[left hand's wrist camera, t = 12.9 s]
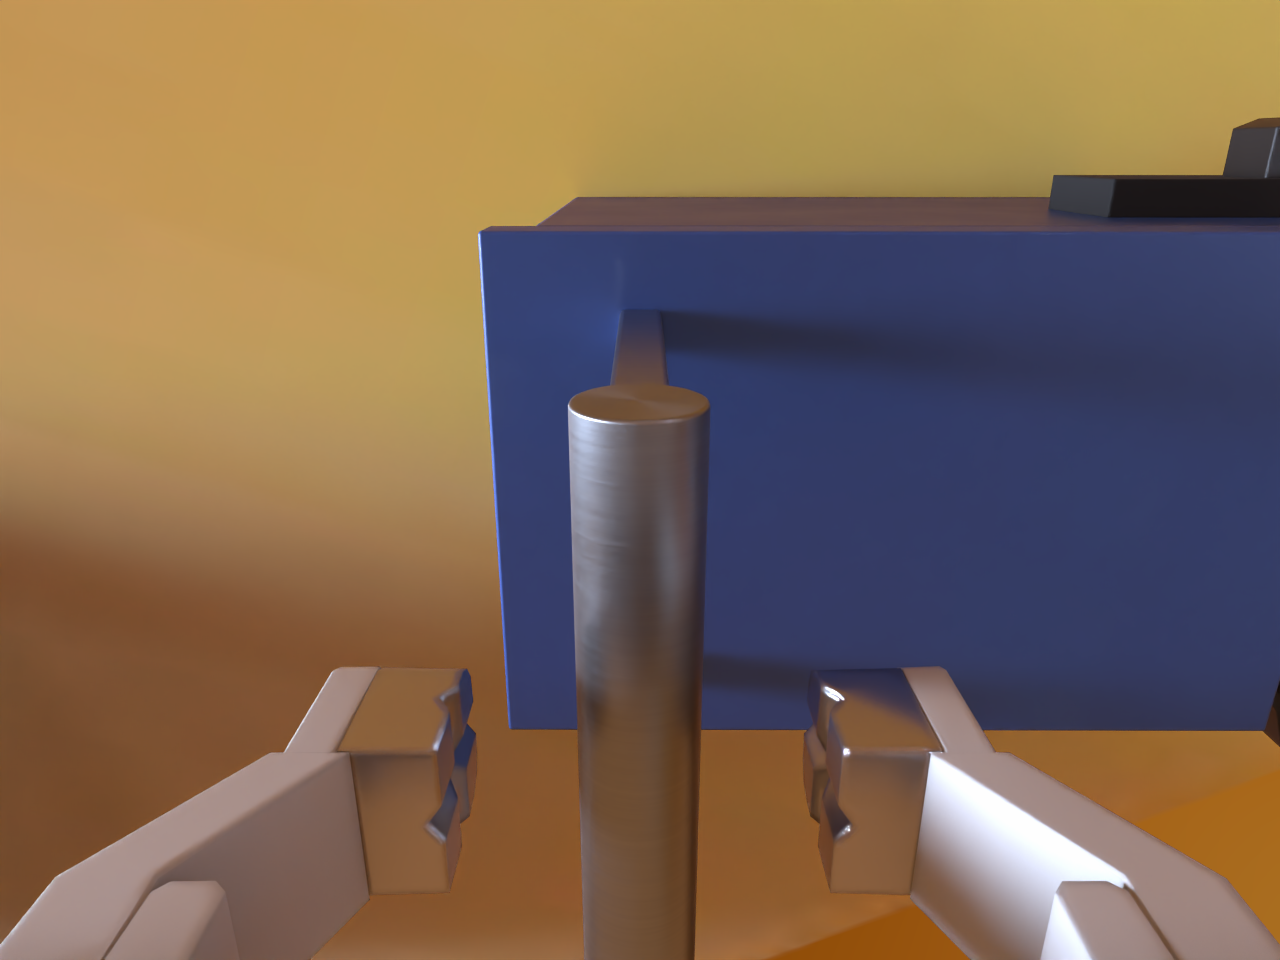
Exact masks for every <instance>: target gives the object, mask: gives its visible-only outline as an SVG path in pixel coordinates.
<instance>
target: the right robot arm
mask: <svg viewBox="0 0 1280 960" xmlns="http://www.w3.org/2000/svg"><path fill="white" fill-rule="evenodd" d="M1049 209H1051V210H1058V211H1065V212H1072V213H1079V214H1086V215H1093V216H1100V217H1107V218H1280V118H1262V119H1257V120H1254V121H1252V122H1249V123H1247V124H1244V125H1241V126H1239V127H1236V128H1234V129H1233V132H1232V136H1231V141H1230V145H1229V150H1228V154H1227V159H1226V163H1225V168H1224V172H1223V175H1054V177H1053V183H1052V190H1051V196H1050V202H1049ZM1263 732H1264V733H1265V734H1267V735H1268V736H1269V737H1270V738H1271V739H1272V740H1273V741H1274V742H1275V743H1276V744H1277V745H1278V746H1279V747H1280V682H1279V685H1278V688H1277V692H1276V695H1275V698H1274V702H1273V705H1272V708H1271V712H1270V715H1269V718H1268V722H1267V725H1266V728H1265V730H1263Z"/></svg>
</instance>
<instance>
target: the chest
mask: <svg viewBox="0 0 1280 960" xmlns="http://www.w3.org/2000/svg"><path fill="white" fill-rule="evenodd" d="M1049 202H1050V197H577V198H575V199H574V200H572V201H571V202H569V203H568V204H567V205H565V206H564V207H562V208H561V209H559V210H558V211H557V212H555V213H554V214H552V215H551V216H550V217H548V218H547V219H545V220H544V221H543V222H541V223H540V224H538V225H537V226H1238V227H1280V218H1107V217H1100V216H1093V215H1086V214H1079V213H1072V212H1065V211H1058V210H1051V209H1049Z"/></svg>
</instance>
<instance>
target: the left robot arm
mask: <svg viewBox="0 0 1280 960" xmlns="http://www.w3.org/2000/svg"><path fill="white" fill-rule="evenodd" d="M472 703H473V695H472V685H471V676H470V674H469V672H468V670H467V669H454V668H404V667H383V668H380V667H340V668H337V669H335V670H334V671H333V672H332V673H331V674H330V676H329V678H328V679H327V681H326V683H325V684H324V686H323V688H322V689H321V691H320V693H319V694H318V696H317V698H316V699H315V701H314V703H313V704H312V706H311V708H310V709H309V711H308V713H307V714H306V716H305V718H304V719H303V721H302V723H301V724H300V726H299V728H298V729H297V731H296V733H295V734H294V736H293V738H292V739H291V741H290V743H289V745H288V746H287V748H286V750H285V751H284V752H270V753H269V754H267V755H265V756H264V757H262V758H260V759H258V760H257V761H255V762H253V763H251V764H250V765H248V766H246V767H244V768H243V769H241V770H239V771H238V772H236V773H234V774H232V775H231V776H229V777H227V778H225V779H224V780H222V781H220V782H219V783H217V784H215V785H213V786H212V787H210V788H208V789H206V790H205V791H203V792H201V793H200V794H198V795H196V796H194V797H193V798H191V799H189V800H187V801H186V802H184V803H182V804H181V805H179V806H177V807H175V808H174V809H172V810H170V811H168V812H167V813H165V814H163V815H162V816H160V817H158V818H156V819H155V820H153V821H151V822H149V823H148V824H146V825H144V826H142V827H141V828H139V829H137V830H136V831H134V832H132V833H130V834H129V835H127V836H125V837H123V838H122V839H120V840H118V841H117V842H115V843H113V844H111V845H110V846H108V847H106V848H104V849H103V850H101V851H99V852H98V853H96V854H94V855H92V856H91V857H89V858H87V859H85V860H84V861H82V862H80V863H79V864H77V865H75V866H73V867H72V868H70V869H68V870H66V871H65V872H63V873H61V874H60V875H58V876H56V877H55V878H54V879H53V880H52V882H51V883H50V884H49V885H48V886H47V888H46V889H45V890H44V891H43V893H42V894H41V895H40V896H39V898H38V899H37V900H36V901H35V902H34V904H33V905H32V906H31V907H30V909H29V910H28V911H27V912H26V914H25V915H24V916H23V917H22V919H21V920H20V921H19V922H18V923H17V925H16V926H15V927H14V928H13V930H12V931H11V932H10V933H9V935H8V936H7V937H6V938H5V939H4V941H3V942H2V943H1V944H0V960H310V959H311V958H312V957H313V956H314V955H315V954H316V953H317V952H318V951H319V950H320V949H321V948H322V947H323V946H324V945H325V944H326V943H327V942H328V941H329V940H330V939H331V938H332V937H333V936H334V935H335V934H336V933H337V932H338V931H339V930H340V929H341V928H342V927H343V926H344V925H345V924H346V923H347V922H348V921H349V920H350V919H351V918H352V917H353V916H354V915H355V914H356V913H357V912H358V911H359V910H360V909H361V908H362V907H363V906H364V905H365V904H366V903H367V902H368V901H369V900H370V899H369V895H387V894H422V893H450V889H451V885H452V881H453V878H454V874H455V870H456V866H457V863H458V859H459V855H460V851H461V847H462V841H461V828H460V824H461V823H462V822H463V821H464V820H465V819H467V818H468V817H469V816H470V812H471V808H472V803H473V799H474V793H475V784H476V775H477V745H476V733H475V732H474V731H473V730H472V729H471V728H470V726H469V725H468V724H467V721H468V717H469V714H470V710H471V707H472ZM807 704H808V707H809V711H810V714H811V717H812V721H813V724H812V725H811V726H810V727H809V729H808V730H807V731H806V732H805V733H804V746H803V775H804V787H805V793H806V800H807V804H808V808H809V812H810V816H811V817H812V818H813V819H814V820H816V821H817V822H818V823H819V824H820V827H819V839H818V848H819V852H820V855H821V859H822V863H823V867H824V870H825V874H826V878H827V881H828V885H829V889H830V893H856V894H892V895H910V899H911V900H912V901H913V902H914V903H915V904H916V905H917V906H918V907H919V908H920V909H921V910H922V911H923V912H924V913H925V914H926V915H927V916H928V917H929V918H930V919H931V920H932V921H933V922H934V923H935V924H936V925H937V926H938V927H939V928H940V929H941V930H942V931H943V932H944V933H945V934H946V935H947V936H948V937H949V938H950V939H951V940H952V941H953V943H954V944H955V945H956V946H957V947H958V948H959V949H960V950H961V951H962V952H963V953H964V954H965V955H966V956H967V957H968V958H969V959H970V960H1280V944H1279V943H1278V942H1277V941H1276V939H1275V938H1274V937H1273V936H1272V935H1271V933H1270V932H1269V931H1268V930H1267V928H1266V927H1265V926H1264V925H1263V923H1262V922H1261V921H1260V920H1259V918H1258V917H1257V916H1256V915H1255V913H1254V912H1253V911H1252V910H1251V908H1250V907H1249V906H1248V905H1247V903H1246V902H1245V901H1244V900H1243V899H1242V897H1241V896H1240V895H1239V894H1238V892H1237V891H1236V890H1235V888H1234V887H1233V886H1232V885H1231V884H1230V882H1229V881H1228V880H1227V879H1226V878H1225V877H1223V876H1221V875H1220V874H1218V873H1216V872H1214V871H1213V870H1211V869H1209V868H1208V867H1206V866H1204V865H1202V864H1201V863H1199V862H1197V861H1195V860H1194V859H1192V858H1190V857H1189V856H1187V855H1185V854H1183V853H1182V852H1180V851H1178V850H1177V849H1175V848H1173V847H1171V846H1170V845H1168V844H1166V843H1164V842H1163V841H1161V840H1159V839H1158V838H1156V837H1154V836H1152V835H1151V834H1149V833H1147V832H1145V831H1144V830H1142V829H1140V828H1139V827H1137V826H1135V825H1133V824H1132V823H1130V822H1128V821H1127V820H1125V819H1123V818H1121V817H1120V816H1118V815H1116V814H1115V813H1113V812H1111V811H1109V810H1108V809H1106V808H1104V807H1102V806H1101V805H1099V804H1097V803H1096V802H1094V801H1092V800H1090V799H1089V798H1087V797H1085V796H1084V795H1082V794H1080V793H1078V792H1077V791H1075V790H1073V789H1071V788H1070V787H1068V786H1066V785H1065V784H1063V783H1061V782H1059V781H1058V780H1056V779H1054V778H1053V777H1051V776H1049V775H1047V774H1046V773H1044V772H1042V771H1040V770H1039V769H1037V768H1035V767H1034V766H1032V765H1030V764H1028V763H1027V762H1025V761H1023V760H1022V759H1020V758H1018V757H1016V756H1015V755H1013V754H1011V753H1009V752H996V751H995V750H994V748H993V746H992V745H991V743H990V742H989V740H988V738H987V737H986V735H985V733H984V732H983V730H982V728H981V727H980V725H979V723H978V722H977V720H976V718H975V717H974V715H973V713H972V712H971V710H970V708H969V707H968V705H967V704H966V702H965V700H964V699H963V697H962V695H961V694H960V692H959V690H958V689H957V687H956V685H955V684H954V682H953V680H952V679H951V677H950V675H949V674H948V672H947V670H945V669H943V668H942V667H940V666H931V667H904V668H880V669H840V670H811V673H810V678H809V682H808V692H807Z"/></svg>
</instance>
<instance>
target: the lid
mask: <svg viewBox="0 0 1280 960" xmlns="http://www.w3.org/2000/svg"><path fill="white" fill-rule="evenodd" d="M478 242H479V258H480V274H481V290H482V306H483V322H484V338H485V353H486V369H487V385H488V401H489V417H490V433H491V449H492V465H493V481H494V497H495V513H496V529H497V545H498V561H499V577H500V593H501V609H502V625H503V641H504V657H505V673H506V689H507V705H508V721H509V728H510V729H560V730H578V763H579V797H580V830H581V864H582V898H583V931H584V960H694V951H695V917H696V883H697V849H698V815H699V782H700V748H701V730H808V729H809V727H810V726H811V725H812V724H813V721H812V717H811V714H810V711H809V707H808V704H807V692H808V682H809V678H810V673H811V670H840V669H880V668H904V667H931V666H940V667H942V668H943V669H945V670H947V672H948V674H949V675H950V677H951V679H952V680H953V682H954V684H955V685H956V687H957V689H958V690H959V692H960V694H961V695H962V697H963V699H964V700H965V702H966V704H967V705H968V707H969V708H970V710H971V712H972V713H973V715H974V717H975V718H976V720H977V722H978V723H979V725H980V727H981V728H982V730H1116V731H1263V730H1265V728H1266V725H1267V722H1268V718H1269V715H1270V712H1271V708H1272V705H1273V702H1274V698H1275V695H1276V692H1277V688H1278V685H1279V682H1280V227H1238V226H490V227H488V228H486V229H484V230H482V231H480V232H479V234H478Z"/></svg>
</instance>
